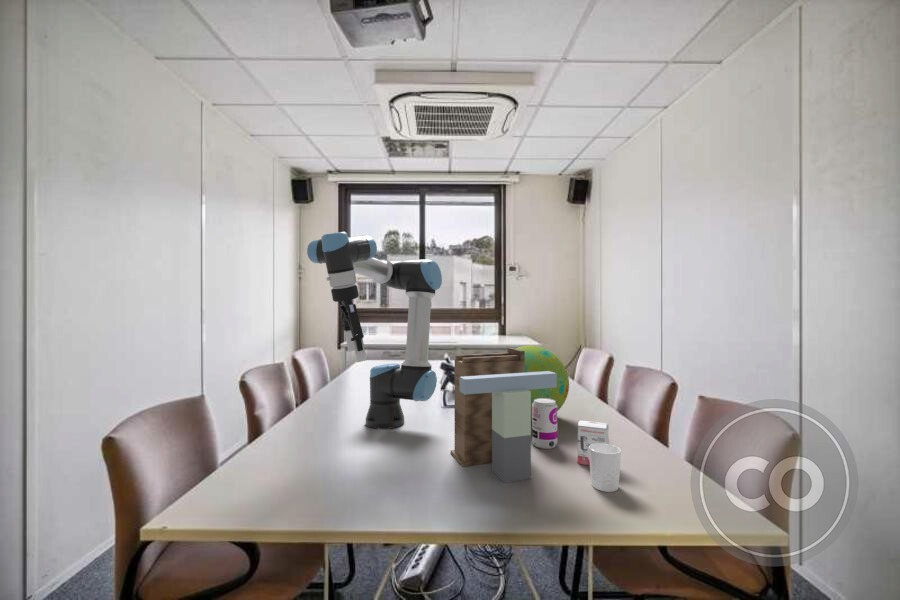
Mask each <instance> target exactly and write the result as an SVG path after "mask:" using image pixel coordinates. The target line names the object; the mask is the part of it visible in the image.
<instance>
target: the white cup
mask: <svg viewBox="0 0 900 600" xmlns="http://www.w3.org/2000/svg"><path fill="white" fill-rule="evenodd" d="M621 456H622V449H621V448H620V447H618V446H616V445H613V444H610V443H608V444H604V443H595V444H591V445H590V446H589V458H590V465H589V471H590V485H591V487H593V488H594V489H596V490H598V491H601V492H604V493H605V492H606V493H613V492H616V491H619V489H620V488H619V487H620V478H621V475H620V474H621V462H622V461H621V460H622V459H621Z"/></svg>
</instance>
